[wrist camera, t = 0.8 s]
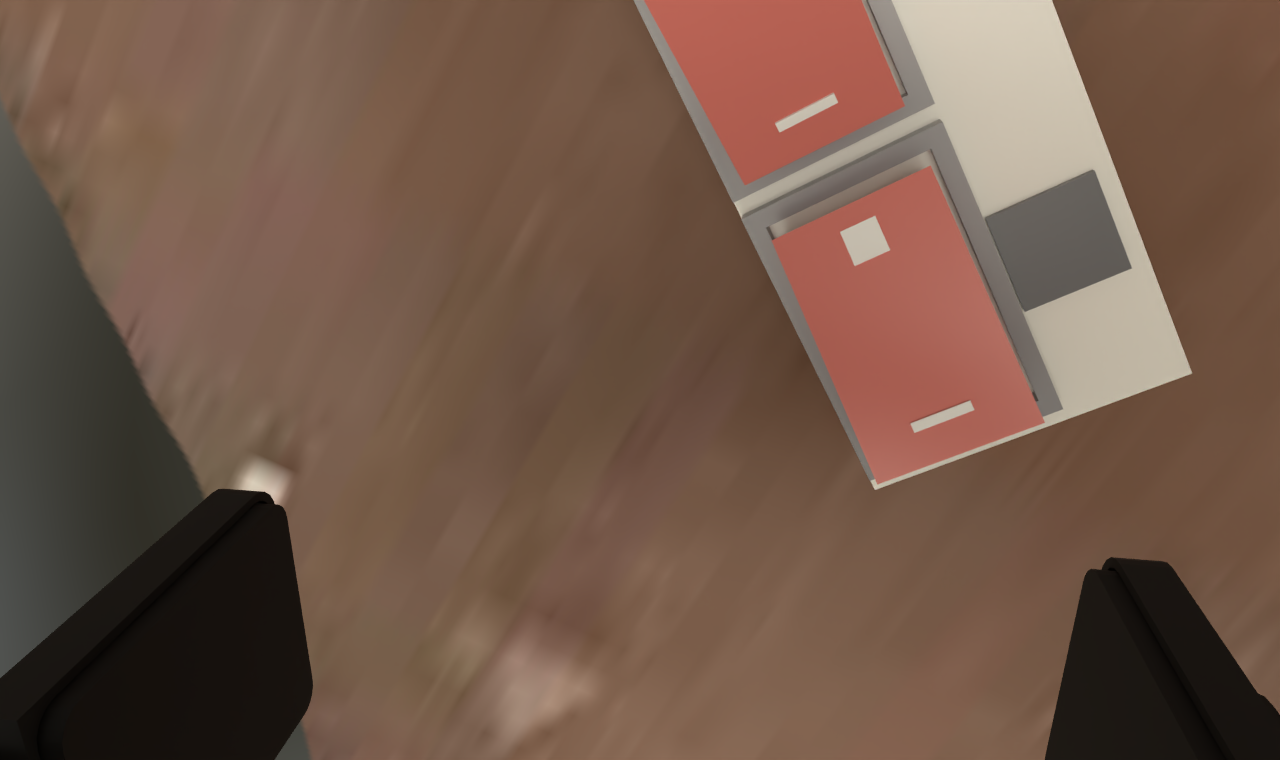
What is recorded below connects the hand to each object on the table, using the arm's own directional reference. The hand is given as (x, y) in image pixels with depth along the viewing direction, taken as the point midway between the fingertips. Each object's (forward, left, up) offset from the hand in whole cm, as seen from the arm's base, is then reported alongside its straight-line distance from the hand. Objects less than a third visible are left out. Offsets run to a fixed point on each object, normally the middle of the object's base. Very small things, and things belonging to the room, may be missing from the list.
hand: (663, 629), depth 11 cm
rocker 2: (-3, +5, -21) cm, 21 cm away
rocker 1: (-3, -6, -21) cm, 22 cm away
